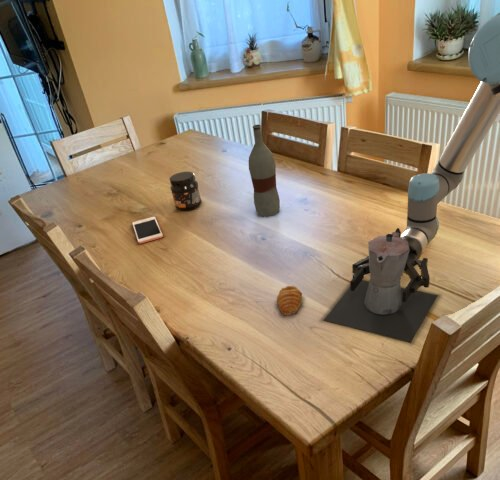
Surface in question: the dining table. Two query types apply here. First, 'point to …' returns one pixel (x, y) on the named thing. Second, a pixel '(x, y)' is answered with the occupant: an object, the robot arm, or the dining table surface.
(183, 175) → the supplement container
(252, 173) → the bottle
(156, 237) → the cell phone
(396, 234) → the moka pot
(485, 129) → the robot arm
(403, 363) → the dining table surface
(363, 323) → the mat
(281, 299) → the pastry
